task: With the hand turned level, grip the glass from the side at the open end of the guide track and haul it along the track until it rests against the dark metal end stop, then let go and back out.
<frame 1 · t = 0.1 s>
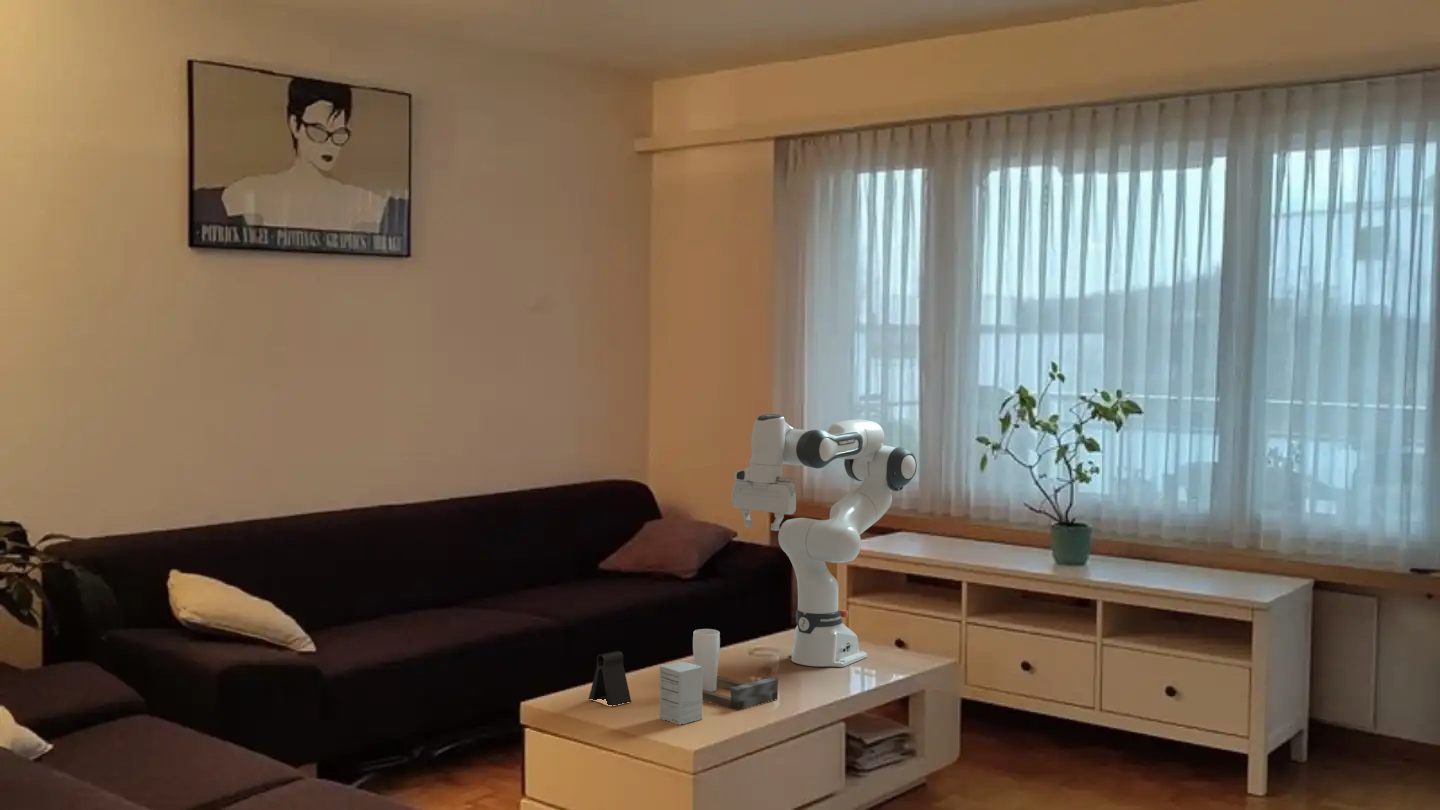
hand: (761, 528, 355), 39 cm above the table, tool pointing down, fingers open, 8 cm apart
supplement box: (680, 720, 316), on the table
drinking glass: (705, 691, 341), on the table
phone stand: (609, 702, 331), on the table
guide track: (725, 696, 337), on the table
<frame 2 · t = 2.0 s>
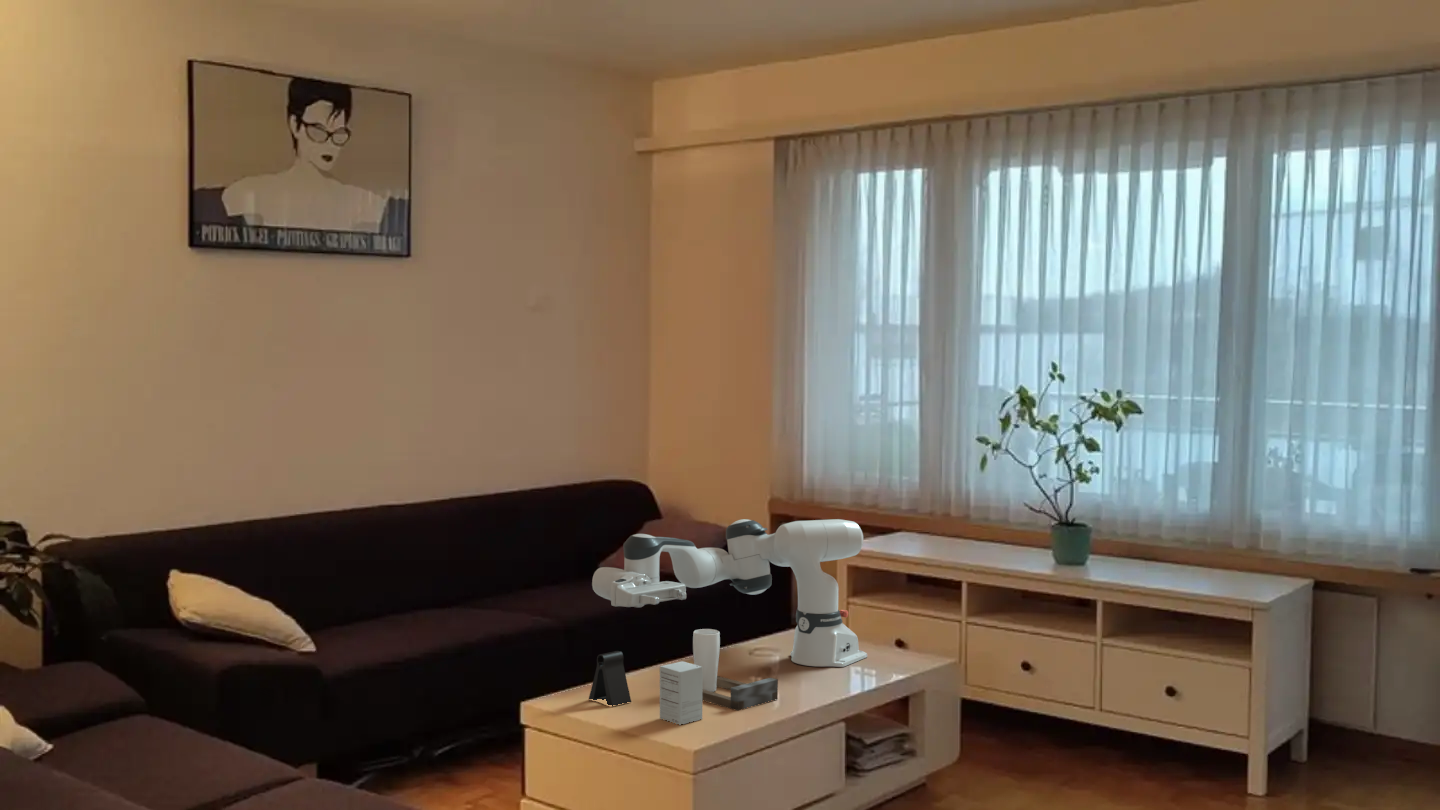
hand: (670, 598, 350), 21 cm above the table, tool horizontal, fingers open, 8 cm apart
nothing on the table moved.
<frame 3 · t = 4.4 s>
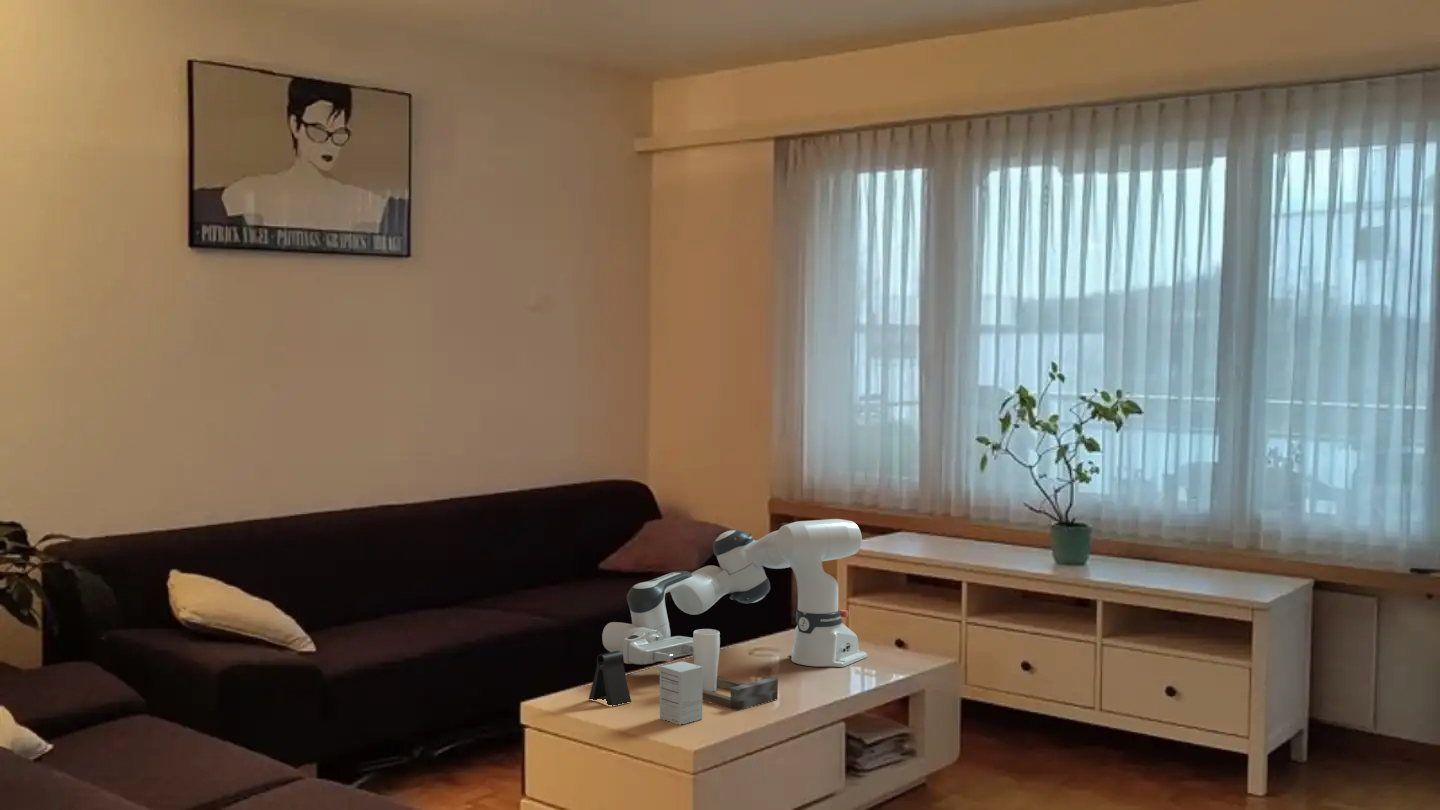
hand: (684, 655, 346), 8 cm above the table, tool horizontal, fingers open, 8 cm apart
nothing on the table moved.
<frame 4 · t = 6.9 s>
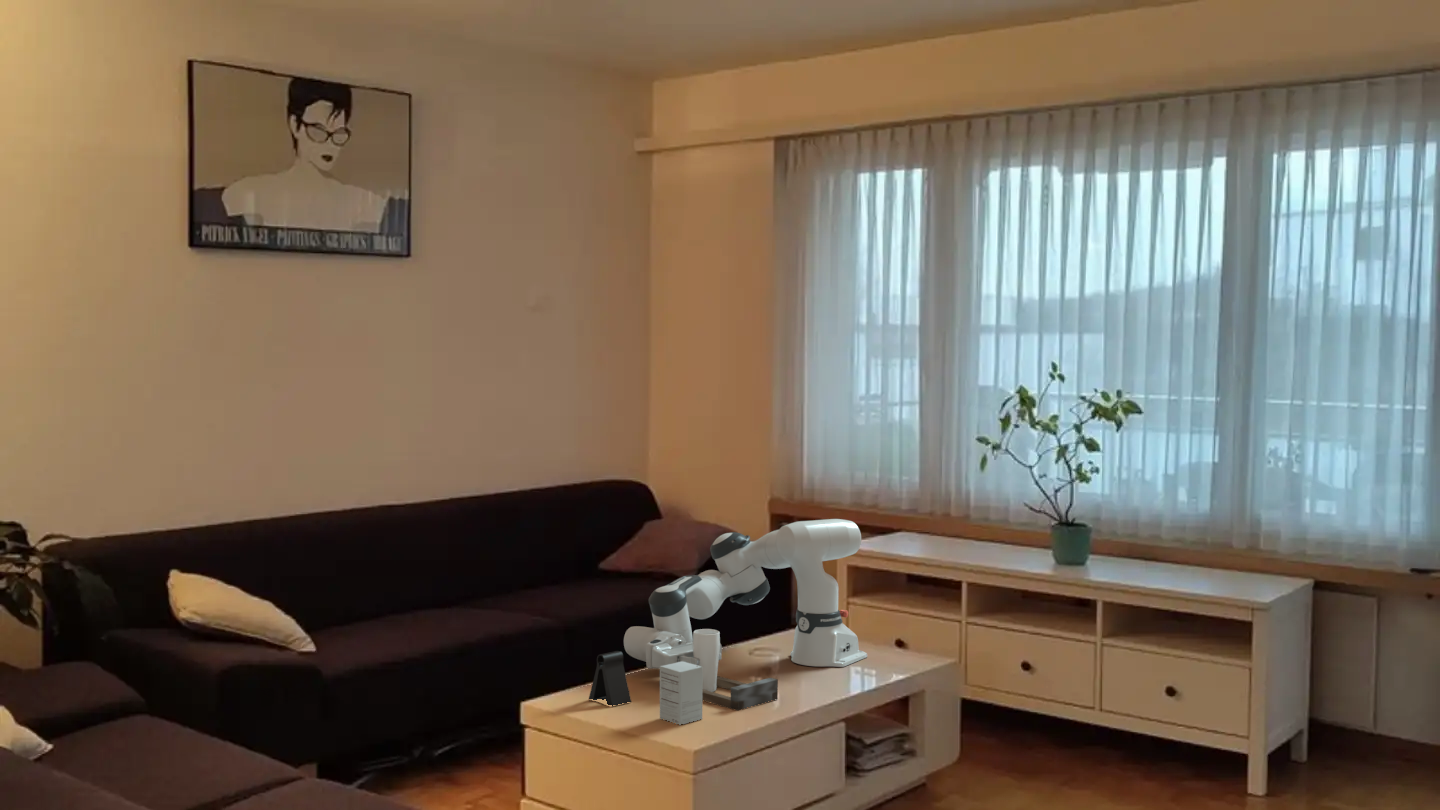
hand: (708, 659, 340), 8 cm above the table, tool horizontal, fingers closed on drinking glass, 6 cm apart
drinking glass: (705, 691, 341), on the table, touching gripper
everything else where it was.
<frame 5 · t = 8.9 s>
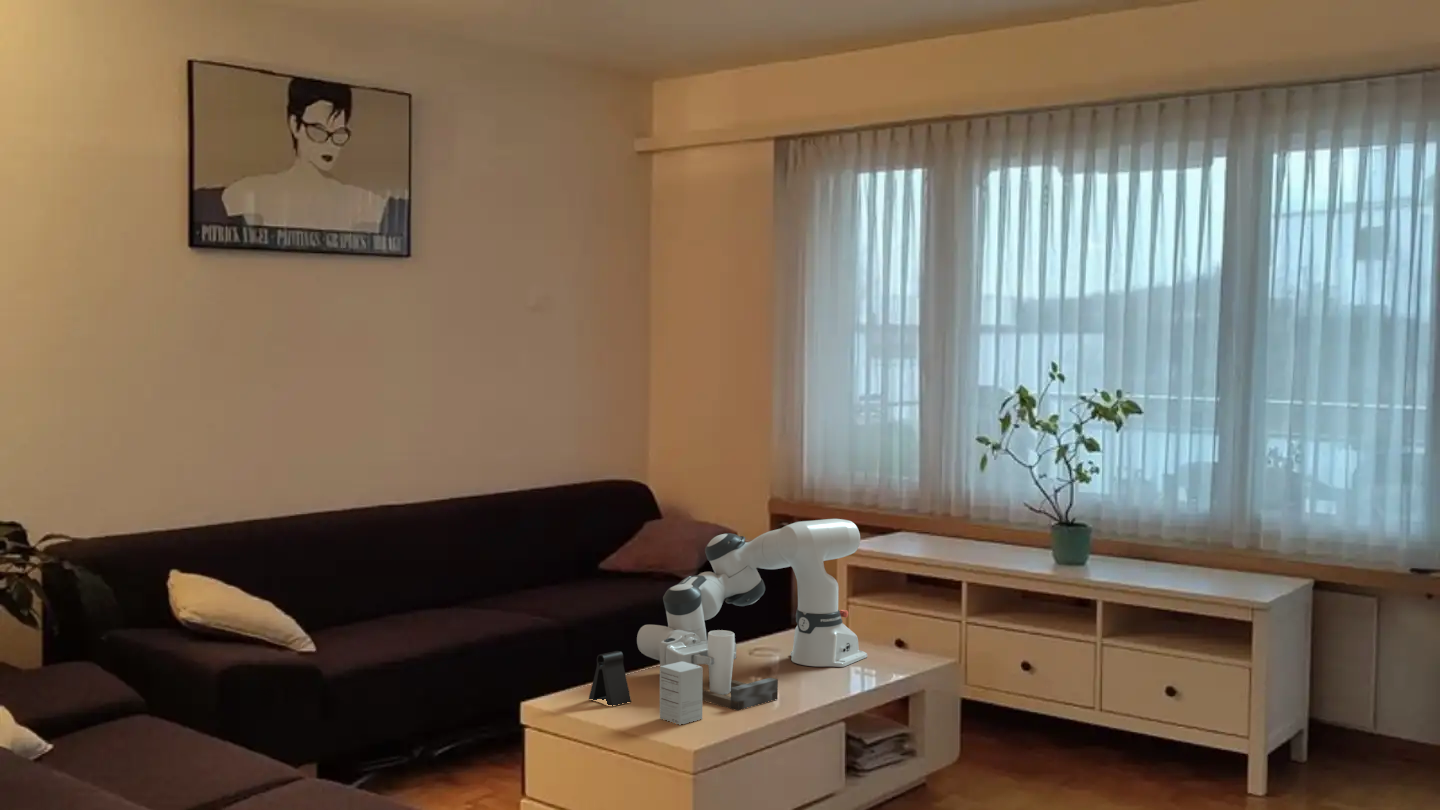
hand: (723, 658, 336), 9 cm above the table, tool horizontal, fingers closed on drinking glass, 6 cm apart
drinking glass: (720, 693, 337), on the table, touching gripper
everything else where it was.
when the fingers open (9 cm above the table, at t = 11.3 s): drinking glass stays where it is, on the table.
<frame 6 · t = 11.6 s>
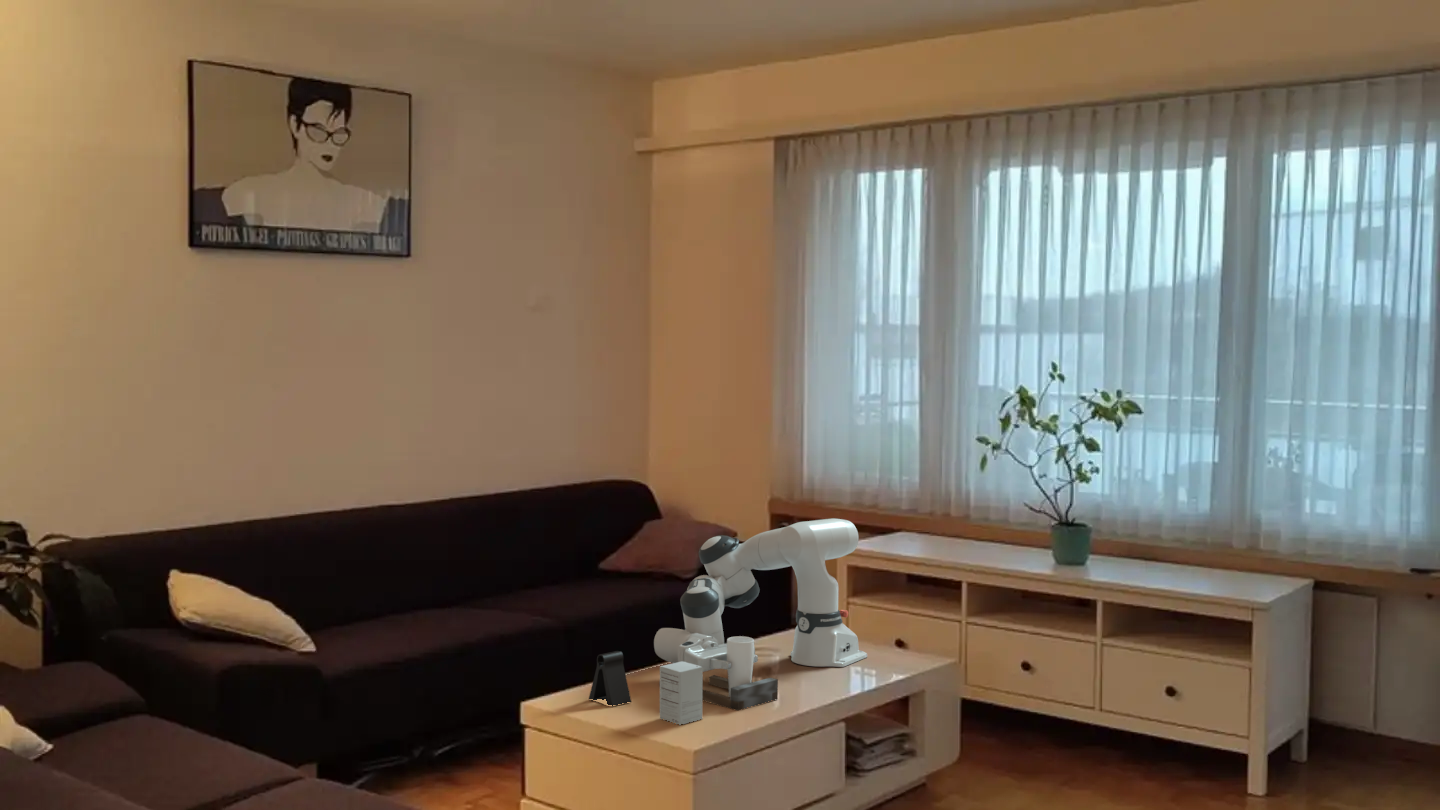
hand: (742, 662, 332), 9 cm above the table, tool horizontal, fingers open, 8 cm apart
drinking glass: (739, 700, 333), on the table
everything else where it was.
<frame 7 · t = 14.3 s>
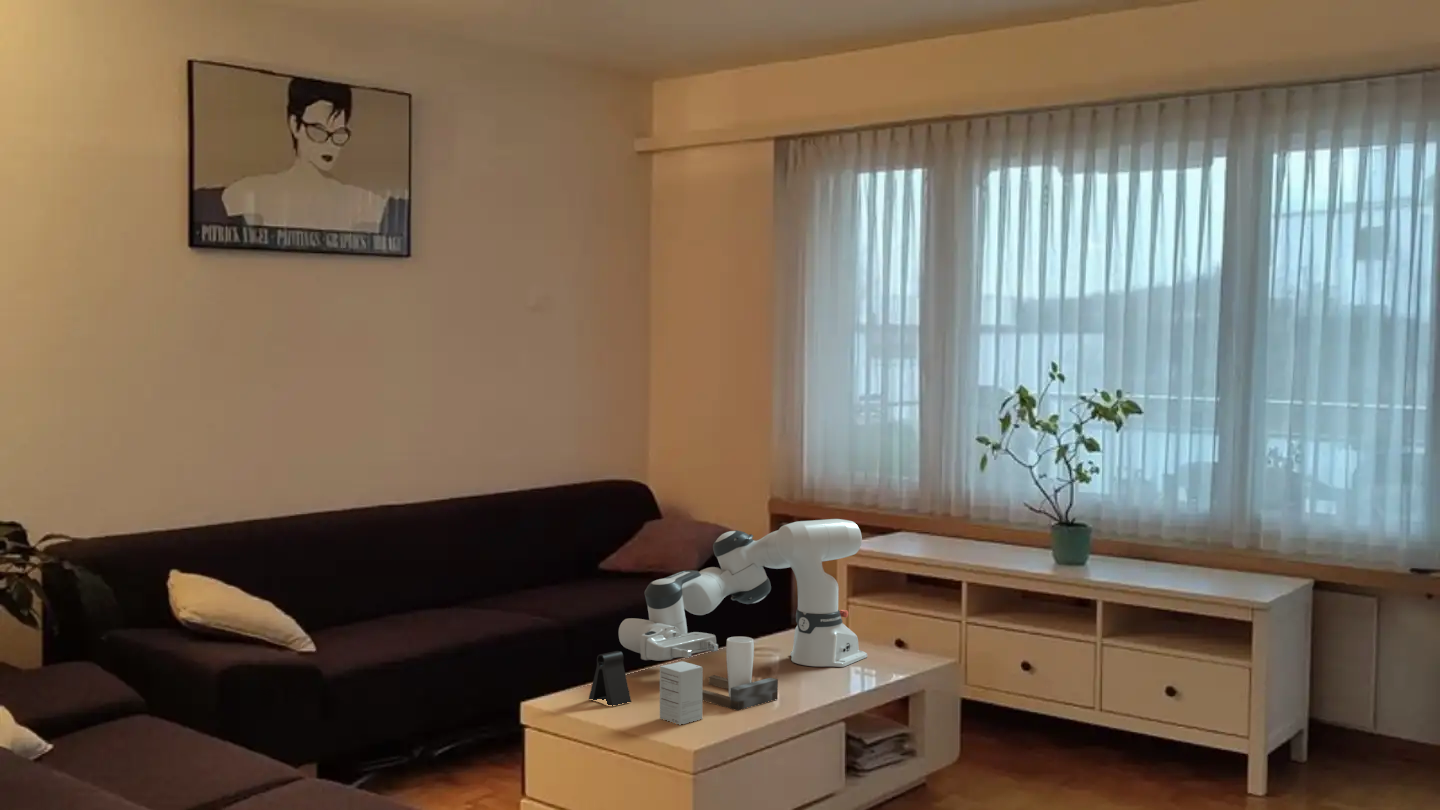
hand: (702, 651, 342), 10 cm above the table, tool horizontal, fingers open, 8 cm apart
nothing on the table moved.
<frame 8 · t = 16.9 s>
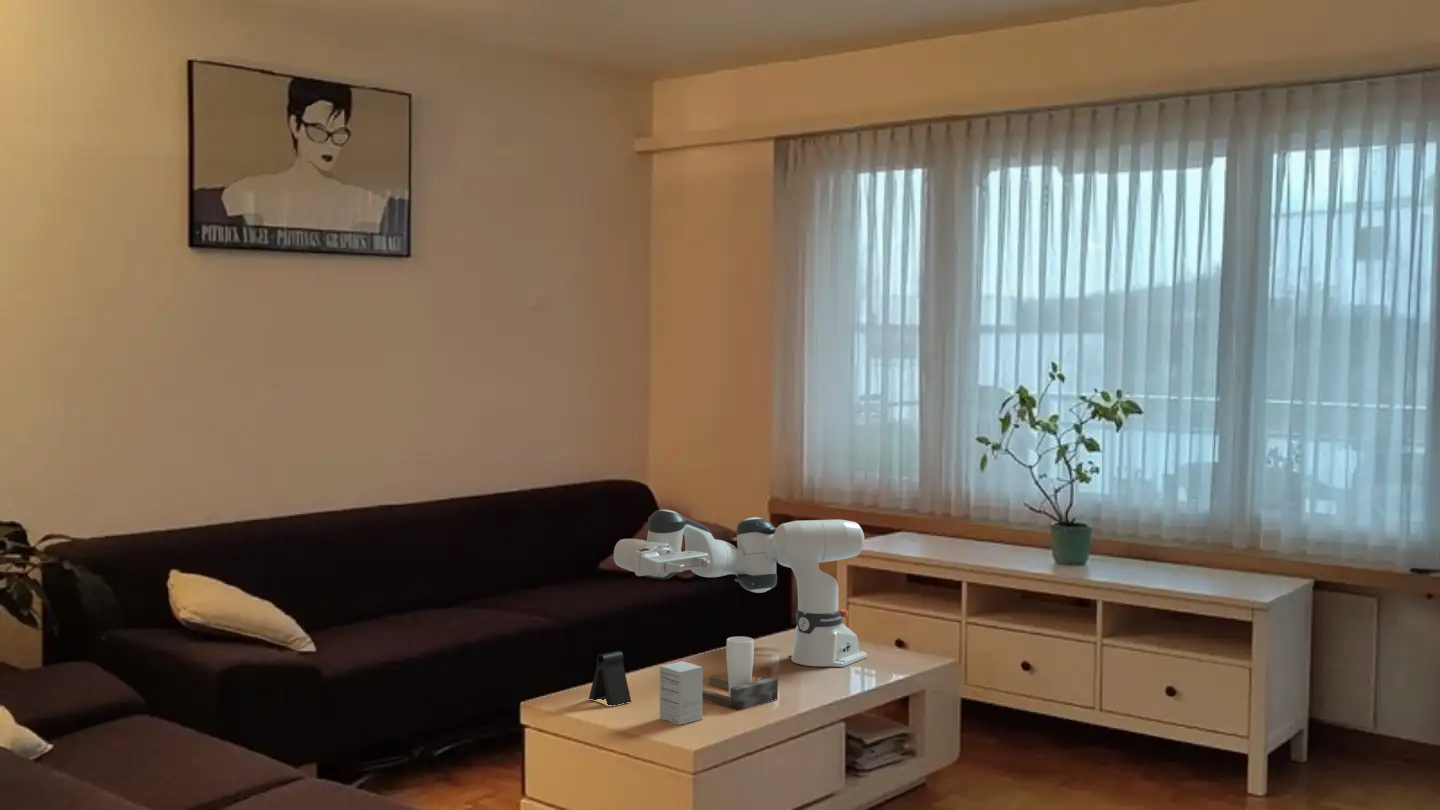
hand: (695, 566, 348), 30 cm above the table, tool horizontal, fingers open, 8 cm apart
nothing on the table moved.
at the end: drinking glass 0.2 cm from the target spot on the guide track, point 0.0 cm above the guide track's base; drinking glass tilted 0°; the gripper is holding nothing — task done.
